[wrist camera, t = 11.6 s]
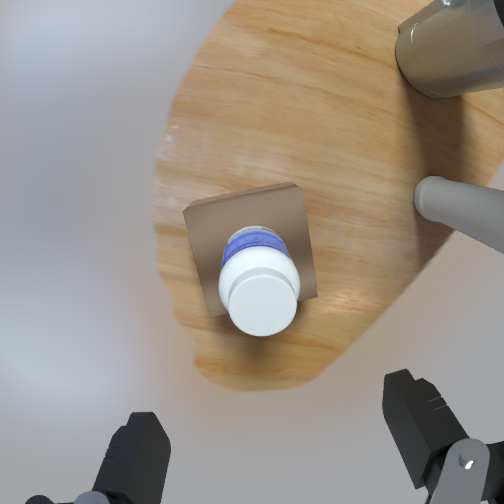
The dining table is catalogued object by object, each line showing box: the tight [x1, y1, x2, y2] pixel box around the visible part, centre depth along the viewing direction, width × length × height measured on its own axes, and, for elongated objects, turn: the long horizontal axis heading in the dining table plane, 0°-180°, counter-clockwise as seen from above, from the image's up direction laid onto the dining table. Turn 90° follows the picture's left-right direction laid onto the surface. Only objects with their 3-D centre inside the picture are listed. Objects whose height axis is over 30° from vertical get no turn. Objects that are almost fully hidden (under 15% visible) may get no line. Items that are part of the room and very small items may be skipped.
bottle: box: [414, 176, 504, 254], centre depth 20 cm, size 5×5×25 cm
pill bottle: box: [219, 226, 300, 336], centre depth 23 cm, size 5×5×10 cm
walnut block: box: [183, 182, 318, 317], centre depth 30 cm, size 10×10×6 cm
